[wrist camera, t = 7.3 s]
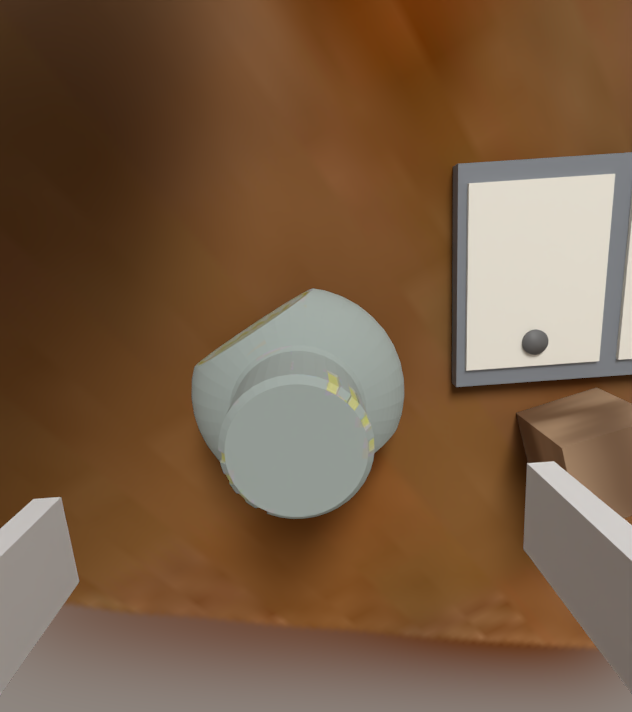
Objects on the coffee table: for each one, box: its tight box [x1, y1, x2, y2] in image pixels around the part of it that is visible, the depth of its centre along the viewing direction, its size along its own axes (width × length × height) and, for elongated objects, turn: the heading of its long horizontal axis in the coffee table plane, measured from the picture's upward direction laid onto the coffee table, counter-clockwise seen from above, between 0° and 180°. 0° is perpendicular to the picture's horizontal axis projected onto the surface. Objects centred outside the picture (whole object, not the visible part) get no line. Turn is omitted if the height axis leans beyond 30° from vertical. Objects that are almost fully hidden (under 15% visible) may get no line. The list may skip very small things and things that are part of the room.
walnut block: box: [516, 387, 632, 518], centre depth 25 cm, size 5×5×5 cm
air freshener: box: [192, 289, 404, 519], centre depth 21 cm, size 11×8×10 cm
